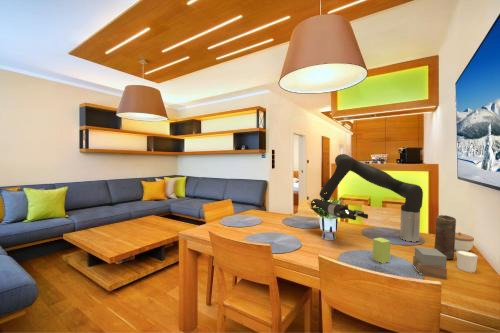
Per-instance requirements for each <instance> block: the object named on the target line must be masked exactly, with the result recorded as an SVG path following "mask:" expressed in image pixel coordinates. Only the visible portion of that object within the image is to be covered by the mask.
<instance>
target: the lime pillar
mask: <svg viewBox="0 0 500 333" xmlns="http://www.w3.org/2000/svg"><path fill="white" fill-rule="evenodd" d="M373 259H374V260H373ZM372 260H373V261H375V260H376V261H375V262H377V261H378V262H377V263H379V262H381V263H384V262H388V261H390V262H391V240H389V239H386V238H383V237H376V238H373V239H372ZM381 263H380V264H381Z"/></svg>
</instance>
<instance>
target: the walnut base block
mask: <svg viewBox="0 0 500 333" xmlns="http://www.w3.org/2000/svg"><path fill="white" fill-rule="evenodd" d="M412 256H413V255H412ZM413 265H414V266H415V267H416V269H417V270H418V271H419V273H422V274H423V275H424V277H429V278H436V279H442V280H448V278H447V276H448V273H447V271H448V269H447V267H446V268H444V267H435V266H426V265H422V264H421V263H420V262H419V261H418V260H417V259H416V258H415V255H414V256H413V257H412V266H413ZM414 266H413V267H414ZM416 269H415V270H416ZM423 275H422V276H423Z"/></svg>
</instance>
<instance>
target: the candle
mask: <svg viewBox="0 0 500 333" xmlns="http://www.w3.org/2000/svg"><path fill="white" fill-rule="evenodd" d="M435 221H436V222H435V234H434V237H435V239H434V246H433V249H437V250H438V251H439V252H441V253H442V254H444V255H445V256H446V257H447V260H449V259H451V260H452V259H453V258H455V251H454V249H455V233H456V228H457V227H456V226H457V219H456V218H455V217H453V216H450V215H446V214H445V215H442V214H440V215H437V216H436V219H435Z"/></svg>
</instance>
